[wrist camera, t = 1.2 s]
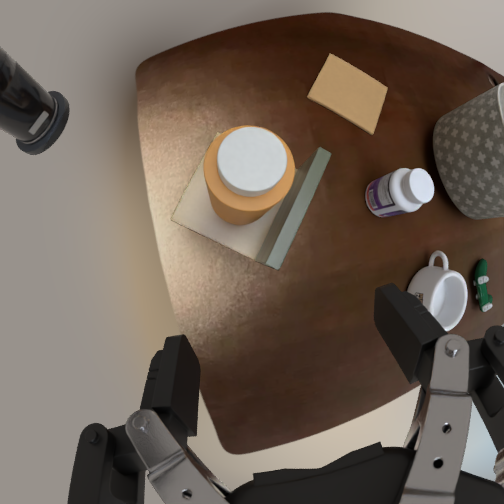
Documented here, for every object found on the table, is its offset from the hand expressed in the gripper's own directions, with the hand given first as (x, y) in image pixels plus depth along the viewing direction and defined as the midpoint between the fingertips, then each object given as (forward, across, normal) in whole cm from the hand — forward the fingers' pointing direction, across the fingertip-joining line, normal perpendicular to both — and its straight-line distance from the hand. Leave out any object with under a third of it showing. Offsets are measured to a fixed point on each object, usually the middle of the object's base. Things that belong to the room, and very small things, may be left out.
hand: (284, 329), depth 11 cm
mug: (+20, -24, +19) cm, 37 cm away
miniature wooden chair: (+24, +2, +2) cm, 24 cm away
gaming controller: (+20, -38, +24) cm, 49 cm away
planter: (+29, -38, +4) cm, 48 cm away
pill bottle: (+26, -18, +5) cm, 32 cm away
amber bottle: (+15, +1, -2) cm, 15 cm away
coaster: (+32, -19, -10) cm, 39 cm away
